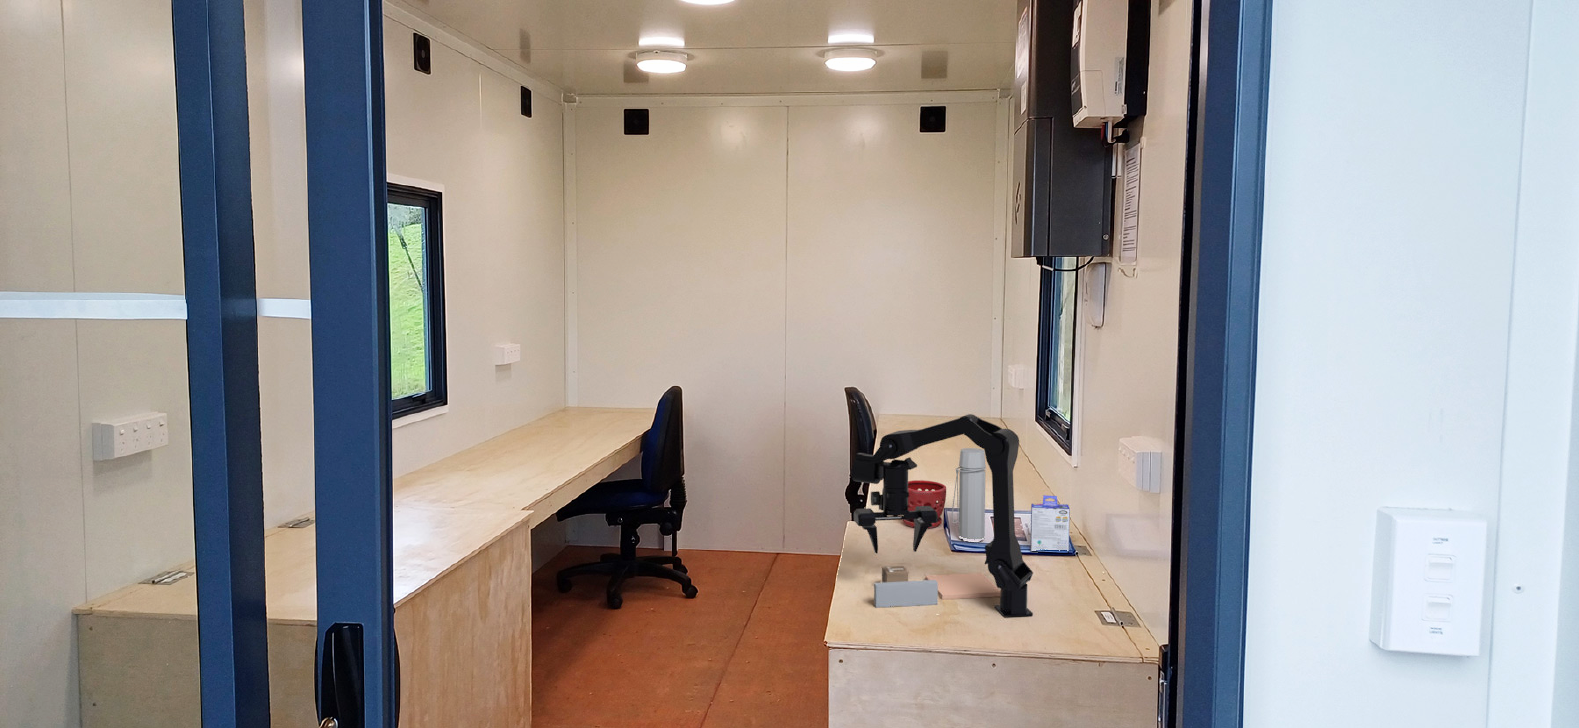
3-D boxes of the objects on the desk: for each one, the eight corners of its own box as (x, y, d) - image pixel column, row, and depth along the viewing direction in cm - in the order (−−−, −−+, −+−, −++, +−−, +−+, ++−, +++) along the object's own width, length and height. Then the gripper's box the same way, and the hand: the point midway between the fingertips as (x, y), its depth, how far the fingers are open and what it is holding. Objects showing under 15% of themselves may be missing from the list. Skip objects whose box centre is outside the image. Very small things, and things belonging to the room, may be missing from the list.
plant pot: (896, 529, 276) (897, 488, 275) (905, 517, 289) (905, 478, 287) (942, 532, 272) (942, 491, 271) (948, 520, 285) (949, 481, 284)
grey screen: (937, 604, 214) (937, 582, 214) (876, 607, 212) (876, 585, 212) (934, 601, 216) (935, 579, 216) (874, 604, 214) (874, 582, 214)
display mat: (1001, 596, 219) (1001, 591, 219) (942, 599, 218) (942, 595, 217) (981, 576, 233) (981, 572, 233) (925, 579, 231) (925, 575, 231)
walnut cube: (908, 593, 222) (908, 571, 222) (886, 594, 221) (887, 572, 221) (902, 586, 227) (902, 565, 227) (881, 587, 226) (882, 566, 226)
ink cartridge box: (1068, 548, 256) (1069, 495, 255) (1069, 554, 251) (1071, 500, 249) (1029, 546, 258) (1030, 493, 257) (1030, 552, 253) (1031, 498, 251)
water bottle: (981, 535, 269) (982, 447, 266) (988, 543, 261) (989, 453, 259) (948, 536, 269) (949, 448, 266) (954, 544, 261) (955, 453, 258)
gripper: (925, 477, 231) (924, 540, 233) (849, 480, 228) (849, 544, 230) (938, 487, 220) (938, 554, 222) (858, 490, 217) (858, 558, 219)
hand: (895, 552), depth 223 cm, fingers open, 9 cm apart
